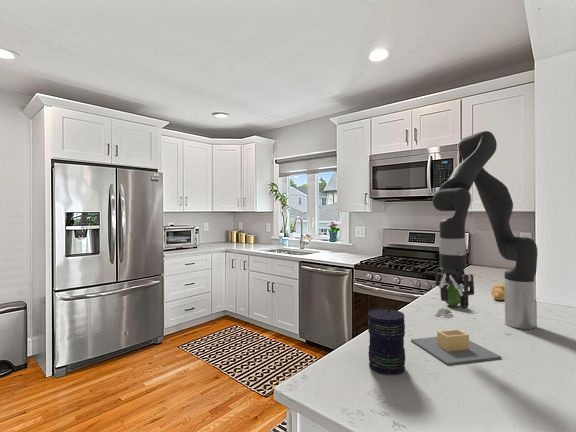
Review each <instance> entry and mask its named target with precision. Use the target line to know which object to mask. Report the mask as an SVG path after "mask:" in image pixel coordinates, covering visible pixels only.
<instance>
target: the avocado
mask: <svg viewBox="0 0 576 432" xmlns="http://www.w3.org/2000/svg"><path fill="white" fill-rule="evenodd" d="M447 289H448V301H444V303H446V304H447V305H449V306H451V307H456V306H458V305H460V296H461V295H460V293H459V291H458V290H457V289H456V288H455V286H452V285H451V284H450V285H449V287H448V288H447Z"/></svg>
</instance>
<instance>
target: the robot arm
mask: <svg viewBox="0 0 576 432" xmlns="http://www.w3.org/2000/svg"><path fill="white" fill-rule="evenodd" d="M457 146H458V152H459V155H460V158H461V159H462V161H461V162H460V163H459V164H458V165H457V166H456V167H455V168H454V170H453V171H452V173H451V174H450V176H449V179H448V180H446V181H445V182H444V183H442V184H441V185H440V186H439V187H438V188H437V189H436V190H435V191H434V194H433V197H432V204H433V205H432V206H433V208H434V209H435V210H437V211H440V212H454V214H453V216H452V217H449V218H444V219H441V220H440V221H439V246H438V247H439V267H436V268H435V286H436V287H438V288H439V290H440V292H439V293H440V294H439V295H440V300H441V301H442V302H445V301H448V289H447V288H448V287H449V285H450V284H451V285H452V286H455V288H456V289H457V290H458V291H459V293H460V295H461V296H460V303H459V307H460V309H468V307H469V296H475V285H474V282H475V281H474V275H473V274H466V273H465V269H466V268H467V266H468V265H467V243H466V232H465V231H466V227H465V226H466V221H467V215H468V212H469V208H470V205H471V202H472V199H471V198H472V196H471V193H470V190H471V188H472V186H473V184H474V185H475V187H476V190H477V192H478V196H479V199H480V202H481V204H482V206H483V208H484V210H485V213H486V214H487V218H488V220H489V223H490V225H491V228H492V232H493V235H494V239H495V242H496V246H497V248H498V252H499V254H500V256H501V257H502V258H503V259H504V260H507V261H512V262H515V266H514V268H512V269H507V270H505V271H504V275H503V276H504V284H505V300H504V324H505V325H507V326H509V327H512V328H515V329H523V330H533V329H535V328H536V327H538V326H537V325H538V321H537V319H538V315H537V313H538V312H537V308H538V307H537V305H538V301H537V300H535V277H536V274H537V267H538V266H537V265H538V246H537V243H536V241H535V240H534V239H533V238H531V237H523V236H515V235H514V233H513V231H512V229H511V225H510V220H511V216H512V214H513V210H514V203H513V199H512V197H511V194H510V193H511V192H510V191H509V189H508V187H507V186H506V185H505V184H504V183H503V182H502V181H501V180H499V179H498V178H497V177H495V176H493V175H492V174H491V173H489V172H488V171H487V170H485V168H484V166H485V165H486V164H487V163H488V161H489V160H490V159H491V158H492V157H493V155H494V154H495V153H496V151H497V146H498V145H497V139H496V136H495V135H494V134H493V133H492V132H491V131H489V130H483V131H481V132H477V133H474V134H472V135H468V136H466V137H463V138H461V139H460V140H459V141H458V144H457Z"/></svg>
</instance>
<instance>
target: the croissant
mask: <svg viewBox="0 0 576 432" xmlns="http://www.w3.org/2000/svg"><path fill="white" fill-rule="evenodd" d="M491 296H492V297H493V299H494V300H496V301H505V283H501V284H496V285H494V286H493V287H492V288H491Z"/></svg>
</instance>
